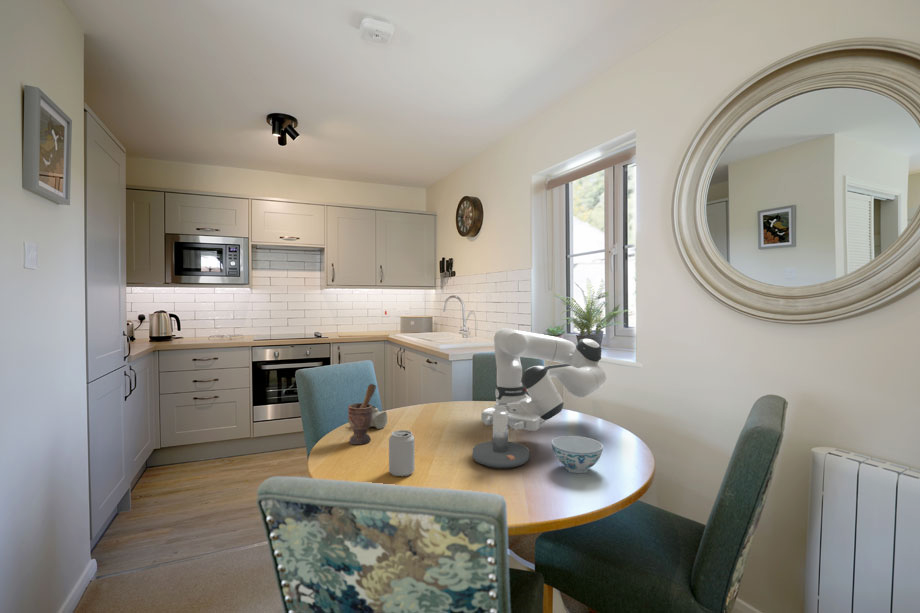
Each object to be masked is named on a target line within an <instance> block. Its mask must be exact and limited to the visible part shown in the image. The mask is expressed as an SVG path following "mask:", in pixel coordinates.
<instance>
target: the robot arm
mask: <svg viewBox="0 0 920 613" xmlns="http://www.w3.org/2000/svg"><path fill="white" fill-rule="evenodd" d="M493 343H494V355H495V364H496V384H495V404H494V406H490V407H488V408H485V409H484V410H482V411H481V416H480V417H481V422H482V423H484V425H486V426H491V425H492V426H493V412H494V411H506V412H508V428H511V430H513V431H518V430H524V431H529V432H536V431H538V430H539V429H540V428H541V424H544V423H545V422H546V421H548V420H550V419H552V418H554V417H555V416H556V415H558V414H560V413H561V412H562V410H563V409H564V408H563V407H564V404H565V402H564V400H563V398H562V396H561V394H560V392H559V391H558V390H557V389H558V388H557V387H556V386H555V384H554V382H553V379H552V378H555V379H557V380H558V381H559V382H560V384H561V385H562V386H563V388H565V390H566V391H567V392H568V393H569V394H570V395H571V396H573V397H576V398H585V397H588V396H591V395H593V394H594V393H596V392H597V391H599V390H600V389H601V388H602V387H603V385H604V384H605V383H606V380H607V379H606V378H607V376H606V372H605V371H604V369H603V368H602V367H601V366H599V362H600V360H602V347H601V345H600V343H598V342H597V341H596V340H594V339H592V338H581V339H579V341H577V343H576V344H575V343H574V342H573V341H571V340H568V339H565V338H562V337H558V336H554V335H547V334H543V333H537V332H529V331H525V330H524V331H523V330H518V329H515V328H510V327H503V328H500V329H499V330H497V332H495V334H494V336H493ZM521 358H529V359H537V360H541V361H548V362H555V363H556V364H550V365H549V364H548V365H533V366H530V367H527V369H525V370H524V371H523V365H522V363H521ZM557 363H559V364H557ZM526 392H527V393H528V394H527V393H526Z"/></svg>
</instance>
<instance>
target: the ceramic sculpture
mask: <svg viewBox="0 0 920 613" xmlns="http://www.w3.org/2000/svg"><path fill="white" fill-rule="evenodd" d="M372 406H373V407H372V408H373V412H372V414H373V415H372V422H371V426H370V427H369V428H374V427H375V429H378V430H382V429H384V428H385V427H386V425H387V424H388V412H387V411H386V410H384V411H380V410H379V408H378V407H377V406H375V405H372Z"/></svg>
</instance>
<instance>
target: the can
mask: <svg viewBox="0 0 920 613" xmlns="http://www.w3.org/2000/svg"><path fill="white" fill-rule="evenodd" d="M415 456H416V455H415V436H414V435H413V431H410V430H406V429H399V430H395V431H392V432H391V433H390V436H389V439H388V472H389V473H390V474H391V475H392V476H393V475H394V476H393V477H396V476H402V477H401V478H403V476H405V477H408V476H410V475H412V473H413V472H414V471H415V458H416V457H415Z"/></svg>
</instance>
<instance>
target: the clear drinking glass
mask: <svg viewBox="0 0 920 613" xmlns="http://www.w3.org/2000/svg"><path fill="white" fill-rule="evenodd" d="M492 441H493V451H494V452H498V453H505V452H508V442H509V427H508V412H506V411H494V412H493V424H492Z"/></svg>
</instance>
